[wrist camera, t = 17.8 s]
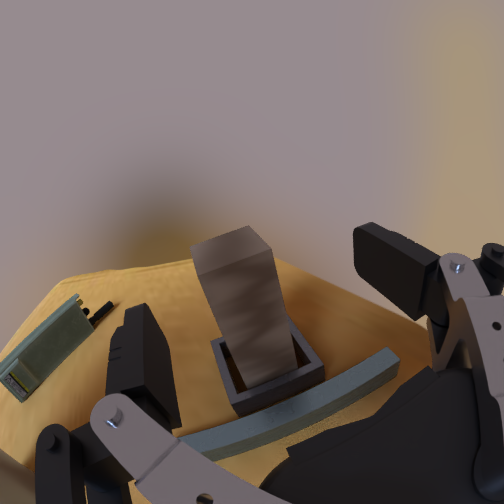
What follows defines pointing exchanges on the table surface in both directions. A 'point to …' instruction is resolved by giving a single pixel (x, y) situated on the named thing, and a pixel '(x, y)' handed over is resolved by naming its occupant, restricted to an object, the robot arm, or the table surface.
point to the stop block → (247, 303)
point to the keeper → (294, 409)
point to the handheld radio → (48, 347)
